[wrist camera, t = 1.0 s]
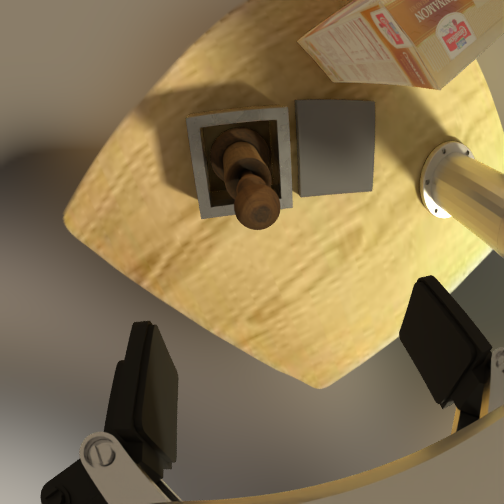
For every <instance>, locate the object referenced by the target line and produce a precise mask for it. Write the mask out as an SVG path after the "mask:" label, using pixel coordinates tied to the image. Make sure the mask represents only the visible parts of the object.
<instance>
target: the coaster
mask: <svg viewBox="0 0 504 504" xmlns="http://www.w3.org/2000/svg"><path fill="white" fill-rule="evenodd" d="M295 113H296V132H297V154H298V184H299V196H300V197H309V196H320V195H331V194H342V193H355V192H368V191H372V187H373V171H374V149H375V102H374V101H363V100H330V99H314V100H295Z"/></svg>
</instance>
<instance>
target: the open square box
mask: <svg viewBox="0 0 504 504" xmlns="http://www.w3.org/2000/svg"><path fill="white" fill-rule="evenodd" d="M263 120H269V130H270V144H271V158H272V174H273V184H272V185H271V186H270V188H271V189H273V190H274V191H275V192H276V194H277V195H278V197H279V200H280V209H285V208H293V202H292V174H291V151H290V132H289V115H288V107H285V106H281V105H266V106H253V107H242V108H232V109H224V110H216V111H208V112H201V113H194V114H190V115H189V116H187V117H186V124H187V131H188V138H189V145H190V152H191V158H192V165H193V171H194V178H195V184H196V190H197V196H198V202H199V208H200V214H201V219H206V218H213V217H221V216H228V215H235V211H234V202H235V199H234V198H232V197H231V196H230V194H229V193H228V191H227V190H222V191H214V192H211V187H210V180H209V173H208V166H207V159H206V151H205V144H204V136H203V128H202V127H208V126H215V125H223V124H232V123H241V122H251V121H263Z"/></svg>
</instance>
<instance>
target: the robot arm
mask: <svg viewBox="0 0 504 504" xmlns="http://www.w3.org/2000/svg"><path fill="white" fill-rule="evenodd" d="M420 194H421V199H422V202H423V204H424V206H425V207H426V209H427V210H428V211H429V212H430V213H432V214H433V215H434V216H437V217H439V218H449V217H453V218H455V219H456V220H457V221H459V222H460V223H461V224H463V225H464V226H465V227H466V228H468V229H469V230H470V231H472V232H473V233H474V234H475V235H477V236H478V237H479V238H480V239H481V240H483V241H484V242H485V243H486V244H488V245H489V246H490V247H491V248H492V249H493V250H495V251H496V252H497V253H498V254H499V255H500V256H502V257H503V258H504V174H503V173H501V172H499V171H497V170H495V169H493V168H491V167H489V166H487V165H485V164H483V163H481V162H479V161H477V160H475V158H474V156H473V154H472V152H471V151H470V149H469V148H468V147H467V146H465V145H464V144H462V143H459V142H456V141H447V142H444V143H442V144H440V145H439V146H437V147H436V148H435V149H434V150H433V151H432V152H431V153H430V155H429V157H428V158H427V160H426V162H425V164H424V166H423V170H422V173H421V178H420ZM399 337H400V340H401V342H402V343H403V345H404V347H405V348H406V350H407V352H408V353H409V355H410V357H411V359H412V360H413V362H414V364H415V365H416V367H417V369H418V371H419V372H420V374H421V376H422V378H423V380H424V381H425V383H426V385H427V387H428V389H429V390H430V392H431V394H432V396H433V398H434V400H435V401H436V403H438V404H440V405H441V407H442V409H444V408H446V407H448V406H450V405H452V404H453V403H455V405H456V412H455V417H454V421H453V426H452V431H451V435H450V436H448V437H446V438H444V439H442V440H441V441H438V442H436V443H434V444H432V445H430V446H428V447H426V448H424V449H421V450H419V451H417V452H415V453H412V454H410V455H408V456H405V457H403V458H401V459H398V460H396V461H393V462H390V463H388V464H385V465H382V466H380V467H377V468H374V469H371V470H368V471H365V472H362V473H360V474H356V475H353V476H349V477H346V478H343V479H340V480H336V481H332V482H328V483H324V484H320V485H316V486H311V487H307V488H302V489H297V490H292V491H287V492H281V493H274V494H268V495H260V496H253V497H243V498H234V499H222V500H206V501H205V500H203V501H182V500H181V499H180V498H179V497H178V496H177V495H176V494H175V493H174V492H173V491H172V490H171V489H170V488H169V486H168V485H167V484H166V483H164V481H163V480H162V478H163V469H172V462H176V457H177V456H176V454H177V452H176V451H177V450H176V449H177V444H176V443H177V401H178V374H177V370H176V368H175V366H174V364H173V362H172V359H171V357H170V355H169V352H168V350H167V348H166V345H165V343H164V341H163V338H162V336H161V334H160V331H159V329H158V326H157V325H152V323H151V322H150V321H143V322H134V323H133V325H132V330H131V333H130V337H129V342H128V346H127V351H126V355H125V360H121V361H119V362H118V364H117V367H116V371H115V375H114V380H113V384H112V389H111V394H110V399H109V404H108V410H107V415H106V421H105V427H104V432H95V433H93V434H91V435H89V436H88V437H86V438H85V439H84V441H83V442H82V444H81V447H80V451H79V452H80V459H79V460H77V461H76V462H75V463H73V464H72V465H70V467H68V468H66V469H65V470H64V471H62V472H61V473H60V474H58V475H57V476H55V477H54V478H53V479H51V480H50V481H48V482H47V483H46V484H45V485H44V486H43V489H42V490H41V503H42V504H504V347H501V348H497V349H496V350H494V352H493V353H491V351H490V350H491V349H492V346H491V345H490V344H489V342H488V341H487V339H486V338H485V337H484V335H483V334H482V333H481V332H480V330H479V329H478V328H477V326H476V325H475V324H474V323H473V321H472V320H471V319H470V318H469V316H468V315H467V314H466V313H465V311H464V310H463V309H462V308H461V307H460V305H459V304H458V303H457V302H456V301H455V300H454V298H453V297H452V296H451V295H450V294H449V293H448V291H447V290H446V289H445V288H444V287H443V286H442V285H441V284H440V282H439V281H438V280H437V279H436V278H435V277H434V276H432V275H430V276H426V277H421V278H419V279H418V280H417V282H416V283H415V284H414V287H413V290H412V294H411V297H410V301H409V304H408V307H407V310H406V313H405V317H404V320H403V323H402V326H401V329H400V332H399Z"/></svg>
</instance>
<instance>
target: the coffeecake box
mask: <svg viewBox="0 0 504 504" xmlns="http://www.w3.org/2000/svg"><path fill="white" fill-rule="evenodd" d="M503 34H504V0H354V1H352V2H350V3H349V4H347V5H346V6H344V7H343V8H341V9H340V10H338V11H337V12H335V13H334V14H332V15H331V16H330V17H328V18H327V19H325V20H324V21H323V22H321V23H320V24H318V25H317V26H316V27H314V28H313V29H312V30H310V31H309V32H308V33H306V34H305V35H304V36H303V37H301V38H300V39H299V40H298V41H297V42H298V43H299V45H300V46H301V47H302V48H303V49H304V50H305V51H306V52H307V53H308V54H309V55H310V56H311V57H312V58H313V59H314V61H315V62H316V63H317V64H318V65H319V66H320V68H321V69H322V70H323V71H324V72H325V74H326V75H327V76H328V77H329V78H330V80H331V81H332V82H348V83H375V84H390V85H402V86H412V87H421V88H429V89H436V90H441V89H442V88H443V87H444V86H445V85H446V84H448V83H449V82H450V81H451V80H452V79H453V78H455V77H456V76H457V75H458V74H459V73H460V72H461V71H462V70H464V69H465V68H466V67H467V66H468V65H469V64H470V63H471V62H473V61H474V60H475V59H476V58H477V57H478V56H479V55H480V54H481V53H482V52H484V51H485V50H486V49H487V48H488V47H489V46H490V45H491V44H493V43H494V42H495V41H496V40H497V39H498V38H499V37H500V36H501V35H503Z"/></svg>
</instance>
